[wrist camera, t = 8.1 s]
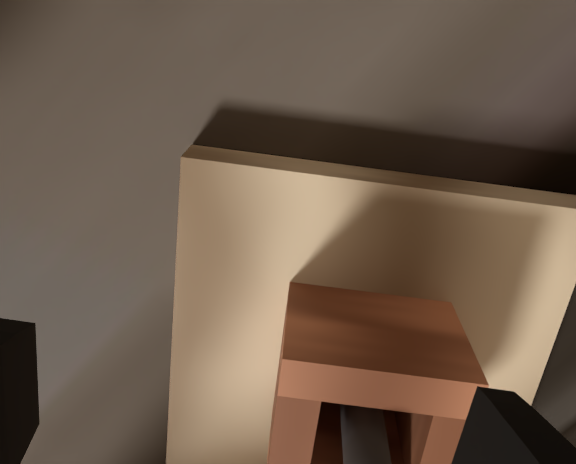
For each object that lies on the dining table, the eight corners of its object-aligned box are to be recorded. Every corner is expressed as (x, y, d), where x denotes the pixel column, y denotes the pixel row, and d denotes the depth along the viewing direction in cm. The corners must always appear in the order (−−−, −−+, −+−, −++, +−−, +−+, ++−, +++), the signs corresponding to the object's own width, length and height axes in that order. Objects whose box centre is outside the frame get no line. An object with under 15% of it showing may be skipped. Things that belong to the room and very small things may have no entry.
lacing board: (175, 444, 22) (120, 614, 16) (192, 144, 17) (124, 220, 11) (479, 483, 22) (542, 668, 16) (578, 195, 17) (721, 299, 11)
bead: (272, 410, 19) (261, 509, 15) (289, 281, 17) (282, 359, 13) (417, 429, 19) (442, 532, 15) (451, 302, 17) (488, 385, 13)
